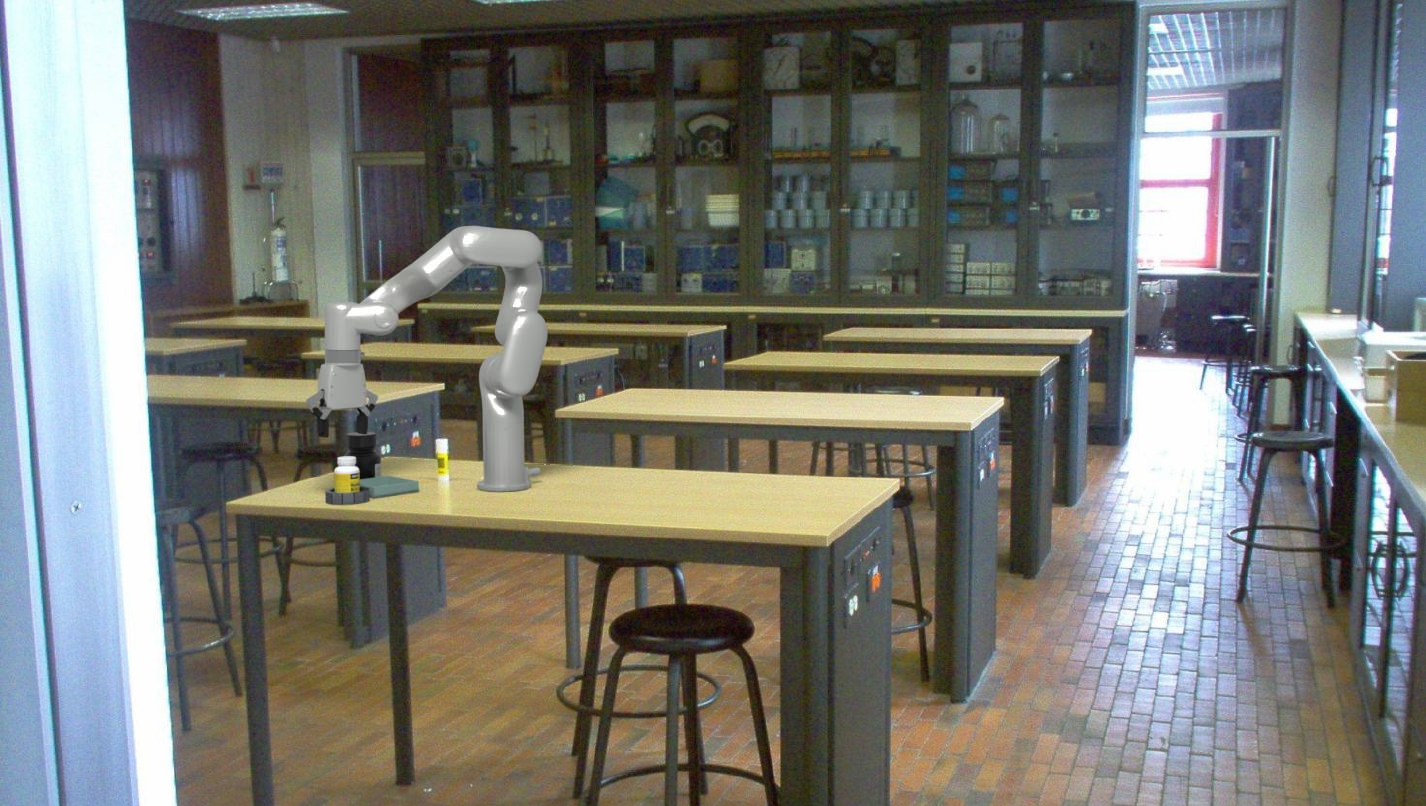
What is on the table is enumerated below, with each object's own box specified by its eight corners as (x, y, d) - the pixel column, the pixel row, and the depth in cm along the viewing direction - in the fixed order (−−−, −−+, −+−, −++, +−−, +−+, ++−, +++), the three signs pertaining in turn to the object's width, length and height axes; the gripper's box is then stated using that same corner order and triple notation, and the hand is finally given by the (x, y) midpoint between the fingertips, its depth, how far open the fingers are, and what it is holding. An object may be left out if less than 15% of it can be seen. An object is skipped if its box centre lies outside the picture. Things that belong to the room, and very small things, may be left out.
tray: (388, 485, 313) (388, 475, 313) (418, 491, 305) (418, 481, 305) (344, 492, 304) (344, 481, 304) (374, 498, 296) (373, 487, 296)
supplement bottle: (353, 503, 290) (352, 459, 289) (330, 502, 292) (329, 458, 290) (364, 499, 296) (363, 456, 295) (342, 498, 297) (340, 455, 296)
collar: (354, 495, 300) (353, 484, 300) (377, 500, 294) (377, 489, 294) (317, 501, 293) (316, 490, 293) (340, 506, 287) (340, 495, 287)
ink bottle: (387, 484, 316) (386, 434, 314) (351, 487, 311) (350, 437, 309) (373, 478, 324) (371, 430, 322) (337, 482, 319) (336, 432, 317)
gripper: (367, 355, 299) (367, 430, 301) (298, 358, 286) (298, 436, 288) (386, 357, 294) (386, 434, 296) (316, 360, 281) (317, 440, 283)
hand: (343, 435), depth 292 cm, fingers open, 9 cm apart
